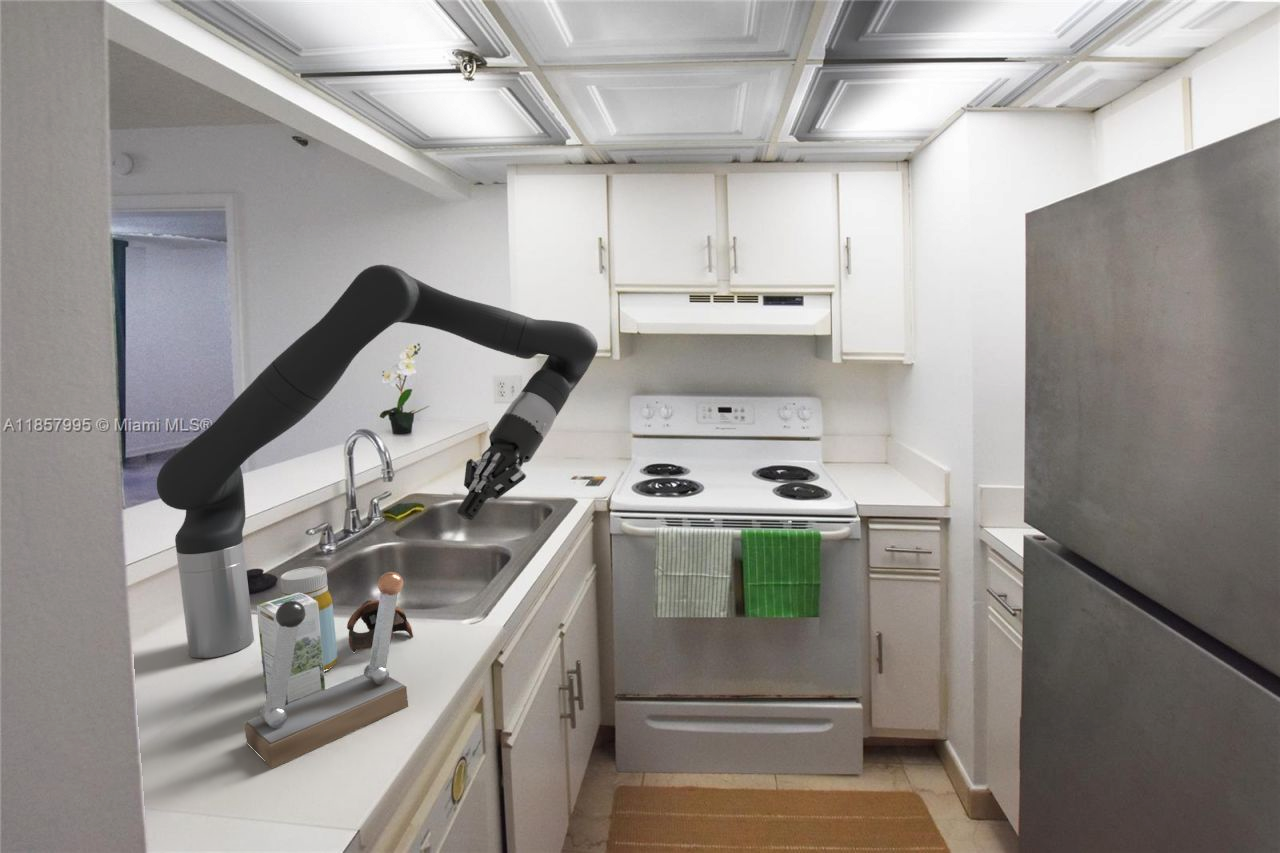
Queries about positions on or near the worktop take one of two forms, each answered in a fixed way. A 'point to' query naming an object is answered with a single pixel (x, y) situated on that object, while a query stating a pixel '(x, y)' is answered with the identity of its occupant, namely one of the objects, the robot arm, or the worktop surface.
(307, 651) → the syrup box
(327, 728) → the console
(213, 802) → the worktop surface
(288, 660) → the lever black
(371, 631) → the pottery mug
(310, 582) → the bottle
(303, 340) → the robot arm
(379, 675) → the lever terracotta
